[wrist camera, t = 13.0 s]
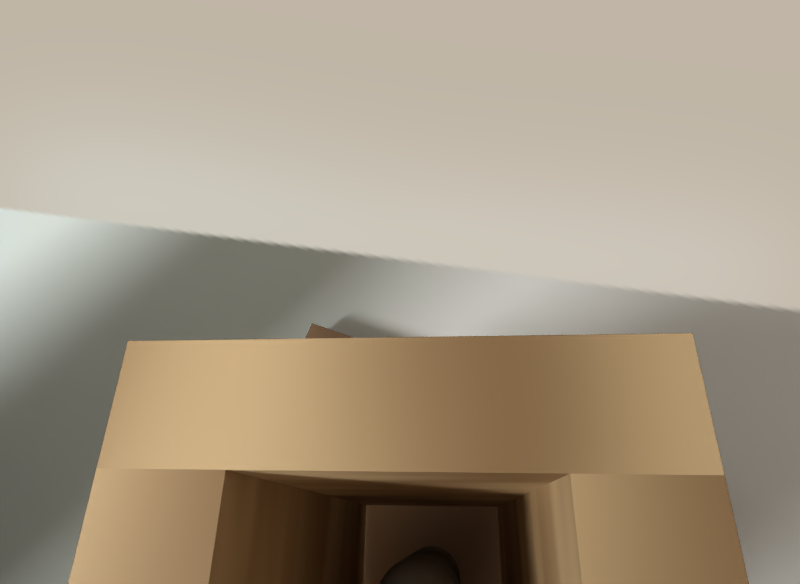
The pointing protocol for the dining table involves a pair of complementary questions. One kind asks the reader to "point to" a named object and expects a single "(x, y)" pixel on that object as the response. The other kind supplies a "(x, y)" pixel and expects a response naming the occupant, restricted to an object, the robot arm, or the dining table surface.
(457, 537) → the brown base with post
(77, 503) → the dining table surface
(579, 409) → the light wooden hollow box
